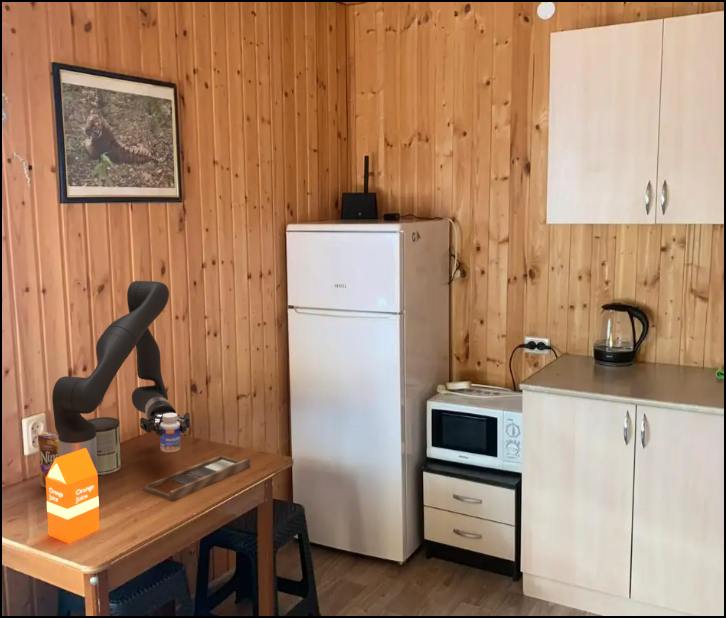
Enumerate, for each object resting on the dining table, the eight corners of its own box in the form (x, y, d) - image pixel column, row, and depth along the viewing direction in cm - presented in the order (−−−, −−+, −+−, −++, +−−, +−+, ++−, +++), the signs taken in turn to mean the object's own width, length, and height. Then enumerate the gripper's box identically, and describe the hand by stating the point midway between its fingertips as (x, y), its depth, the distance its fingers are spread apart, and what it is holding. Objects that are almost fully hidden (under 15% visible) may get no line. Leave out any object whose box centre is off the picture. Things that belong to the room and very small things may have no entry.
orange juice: (48, 535, 175) (43, 455, 171) (79, 521, 182) (76, 444, 179) (69, 543, 171) (65, 462, 167) (100, 529, 178) (97, 450, 175)
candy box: (39, 487, 202) (36, 434, 199) (53, 482, 205) (50, 429, 203) (61, 494, 197) (58, 440, 195) (74, 489, 201) (72, 435, 198)
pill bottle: (165, 454, 196) (165, 419, 195) (156, 448, 200) (155, 414, 199) (184, 449, 200) (183, 415, 198) (175, 444, 204) (174, 410, 202)
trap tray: (172, 501, 195) (172, 492, 194) (142, 490, 201) (142, 481, 201) (249, 466, 219) (249, 459, 219) (221, 458, 226) (220, 450, 225)
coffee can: (78, 467, 216) (76, 421, 214) (112, 459, 223) (110, 414, 221) (92, 478, 209) (90, 430, 206) (127, 469, 215) (125, 423, 213)
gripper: (134, 402, 208) (144, 420, 193) (184, 397, 214) (198, 414, 199) (134, 428, 209) (145, 447, 194) (185, 422, 216) (199, 440, 201)
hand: (172, 430), depth 197 cm, fingers closed on pill bottle, 5 cm apart
